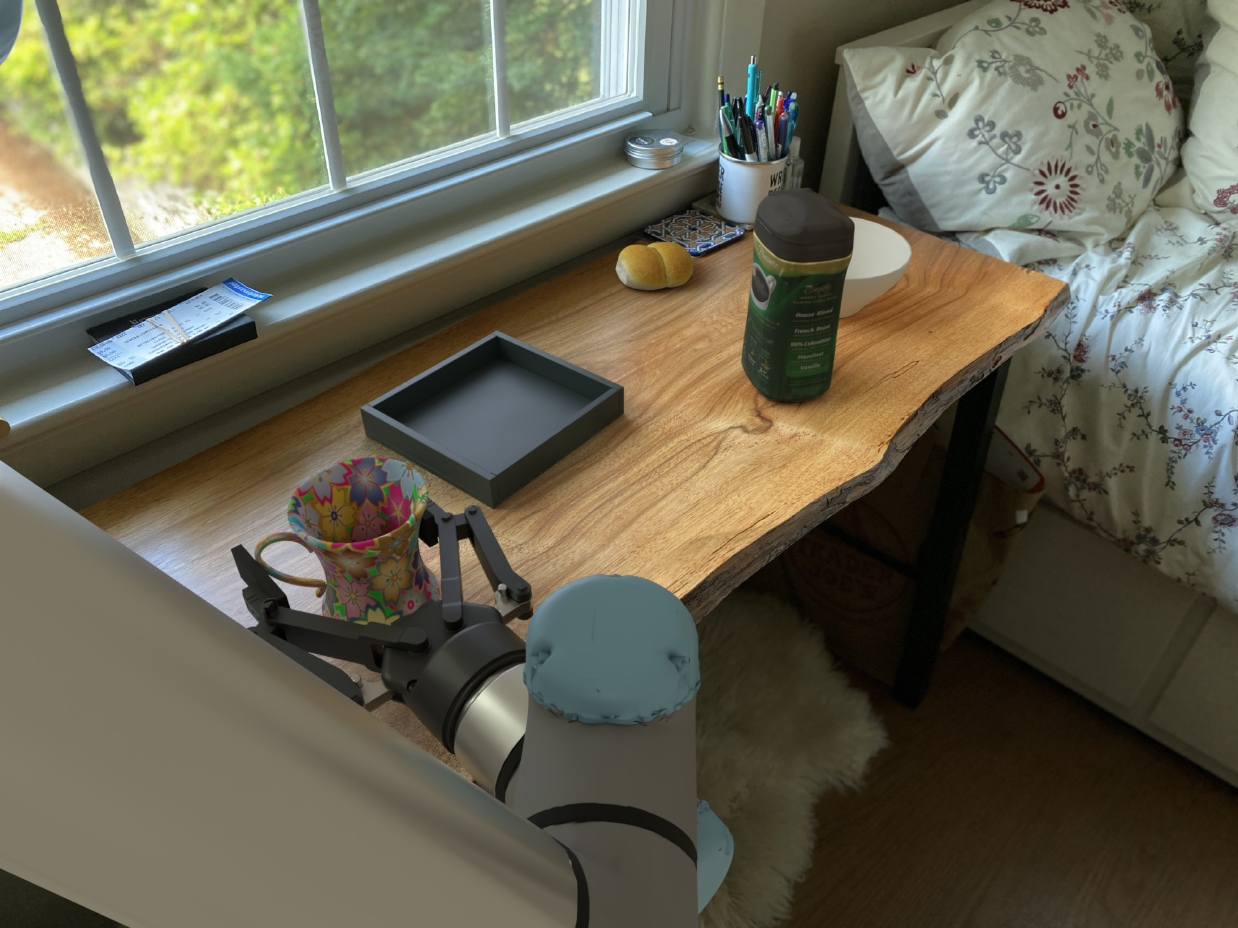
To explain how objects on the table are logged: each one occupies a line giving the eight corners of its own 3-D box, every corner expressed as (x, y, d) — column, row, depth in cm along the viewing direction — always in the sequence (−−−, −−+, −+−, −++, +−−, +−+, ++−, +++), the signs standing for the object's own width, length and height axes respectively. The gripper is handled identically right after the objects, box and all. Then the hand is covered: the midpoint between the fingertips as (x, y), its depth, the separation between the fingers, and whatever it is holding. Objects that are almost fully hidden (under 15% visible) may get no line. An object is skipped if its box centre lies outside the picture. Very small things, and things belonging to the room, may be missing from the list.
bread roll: (703, 285, 109) (705, 254, 106) (630, 297, 107) (630, 265, 104) (677, 255, 115) (678, 225, 112) (608, 266, 113) (607, 235, 110)
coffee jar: (841, 399, 90) (873, 218, 79) (765, 411, 89) (786, 228, 77) (802, 349, 98) (826, 176, 86) (730, 359, 96) (745, 185, 85)
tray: (493, 509, 78) (489, 480, 76) (365, 435, 86) (359, 407, 84) (624, 413, 89) (624, 386, 87) (499, 356, 97) (497, 330, 95)
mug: (429, 549, 74) (410, 443, 68) (460, 631, 67) (443, 523, 61) (273, 593, 70) (237, 485, 64) (290, 684, 64) (252, 574, 57)
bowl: (768, 263, 113) (774, 208, 109) (903, 279, 110) (914, 223, 105) (746, 327, 101) (751, 268, 97) (897, 347, 98) (910, 287, 93)
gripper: (337, 871, 51) (172, 642, 63) (643, 646, 63) (453, 492, 75) (308, 794, 46) (136, 562, 59) (644, 567, 58) (442, 416, 71)
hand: (315, 522), depth 67 cm, fingers closed on mug, 11 cm apart
